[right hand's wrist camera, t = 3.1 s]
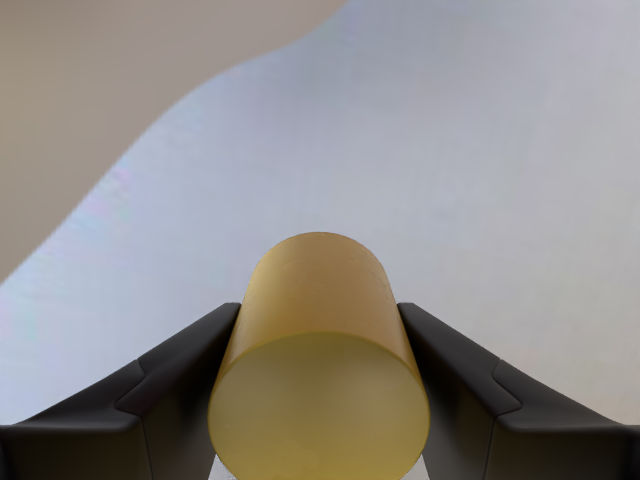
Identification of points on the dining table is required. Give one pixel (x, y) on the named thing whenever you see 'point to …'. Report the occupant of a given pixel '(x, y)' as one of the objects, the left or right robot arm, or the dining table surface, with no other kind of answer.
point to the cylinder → (318, 371)
